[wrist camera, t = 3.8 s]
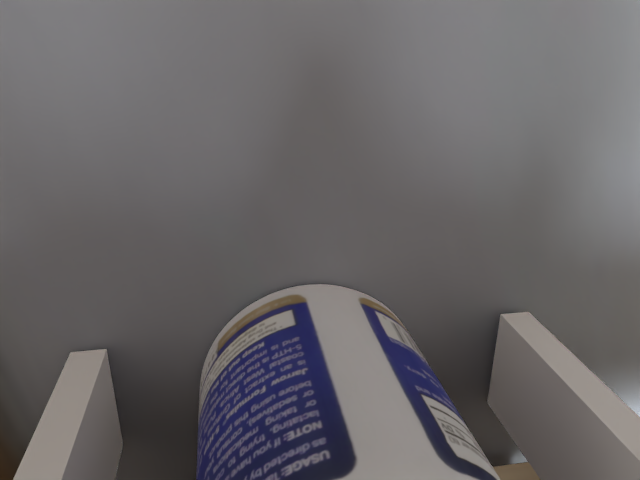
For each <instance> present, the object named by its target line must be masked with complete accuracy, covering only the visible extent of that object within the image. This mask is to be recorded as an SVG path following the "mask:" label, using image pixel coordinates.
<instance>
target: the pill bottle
mask: <svg viewBox="0 0 640 480" xmlns="http://www.w3.org/2000/svg"><path fill="white" fill-rule="evenodd" d="M196 480H500V478H499V477H498V475H497V473H496V472H495V470H494V468H493V467H492V465H491V464H490V462H489V461H488V459H487V458H486V456H485V454H484V453H483V451H482V449H481V448H480V446H479V444H478V443H477V442H476V440H475V438H474V436H473V435H472V433H471V432H470V430H469V429H468V427H467V425H466V424H465V422H464V421H463V419H462V417H461V416H460V414H459V412H458V411H457V409H456V408H455V406H454V404H453V403H452V401H451V399H450V398H449V396H448V395H447V393H446V392H445V390H444V388H443V387H442V385H441V383H440V382H439V380H438V378H437V377H436V375H435V374H434V372H433V370H432V369H431V367H430V366H429V364H428V363H427V361H426V359H425V358H424V356H423V354H422V353H421V351H420V349H419V348H418V346H417V345H416V343H415V342H414V340H413V338H412V337H411V335H410V334H409V332H408V331H407V329H406V328H405V327H404V325H403V324H402V322H401V321H400V320H399V318H398V317H397V316H396V315H395V314H394V313H393V312H392V311H391V310H390V309H389V308H388V307H386V306H385V305H384V304H383V303H381V302H379V301H378V300H376V299H375V298H373V297H371V296H369V295H367V294H364V293H362V292H359V291H356V290H354V289H350V288H346V287H342V286H336V285H329V284H310V285H301V286H295V287H290V288H286V289H283V290H280V291H277V292H274V293H272V294H269V295H267V296H265V297H263V298H261V299H259V300H257V301H255V302H254V303H252V304H250V305H249V306H247V307H246V308H245V309H243V310H242V311H240V312H239V313H238V314H237V315H236V316H235V317H234V318H233V319H231V320H230V321H229V322H228V323H227V325H226V326H225V327H224V328H223V329H222V331H221V332H220V333H219V334H218V336H217V337H216V339H215V340H214V342H213V344H212V346H211V348H210V350H209V352H208V354H207V357H206V359H205V362H204V366H203V369H202V374H201V381H200V392H199V415H198V447H197V474H196Z"/></svg>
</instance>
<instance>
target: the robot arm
mask: <svg viewBox="0 0 640 480" xmlns="http://www.w3.org/2000/svg"><path fill="white" fill-rule="evenodd" d="M487 403H488V405H489V406H490V407H491V409H492V410H493V412H494V413H495V415H496V416H497V418H498V419H499V420H500V422H501V423H502V425H503V426H504V428H505V429H506V430H507V432H508V433H509V435H510V436H511V438H512V439H513V441H514V442H515V443H516V445H517V446H518V448H519V449H520V451H521V452H522V454H523V455H524V456H525V458H526V459H527V461H528V462H529V464H530V465H531V466H532V468H533V469H534V471H535V472H536V474H537V475H538V477H539V478H540V479H541V480H640V417H639V416H638V415H637V414H636V413H635V412H634V411H633V410H632V409H630V408H629V407H628V406H627V405H626V404H625V403H624V402H623V401H622V400H621V399H620V398H619V397H618V396H617V395H616V394H615V393H614V392H613V391H612V390H610V389H609V388H608V387H607V386H606V385H605V384H604V383H603V382H602V381H601V380H600V379H599V378H598V377H597V376H596V375H595V374H594V373H593V372H592V371H591V370H589V369H588V368H587V367H586V366H585V365H584V364H583V363H582V362H581V361H580V360H579V359H578V358H577V357H576V356H575V355H574V354H573V353H572V352H571V351H569V350H568V349H567V348H566V347H565V346H564V345H563V344H562V343H561V342H560V341H559V340H558V339H557V338H556V337H555V336H554V335H553V334H552V333H551V332H549V331H548V330H547V329H546V328H545V327H544V326H543V325H542V324H541V323H540V322H539V321H538V320H537V319H536V318H535V317H534V316H533V315H532V314H531V313H529V312H519V313H507V314H500V320H499V327H498V334H497V341H496V347H495V354H494V361H493V368H492V374H491V381H490V388H489V395H488V401H487ZM122 448H123V440H122V435H121V429H120V423H119V417H118V412H117V406H116V400H115V394H114V388H113V383H112V377H111V371H110V365H109V360H108V354H107V349H100V350H89V351H78V352H70V354H69V357H68V359H67V361H66V363H65V366H64V368H63V370H62V372H61V374H60V377H59V379H58V381H57V383H56V386H55V388H54V390H53V392H52V394H51V397H50V399H49V401H48V403H47V405H46V408H45V410H44V412H43V414H42V417H41V419H40V421H39V423H38V425H37V428H36V430H35V432H34V434H33V437H32V439H31V441H30V443H29V445H28V448H27V450H26V452H25V454H24V456H23V459H22V461H21V463H20V465H19V468H18V470H17V472H16V474H15V476H14V479H13V480H115V479H116V474H117V470H118V466H119V461H120V457H121V453H122Z"/></svg>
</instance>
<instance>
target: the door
mask: <svg viewBox="0 0 640 480" xmlns="http://www.w3.org/2000/svg"><path fill="white" fill-rule="evenodd" d="M493 468H494V470H495V472H496V473H497V475H498V477H499V478H500V480H541V479H540V478H539V477H538V475H537V474H536V472H535V471H534V469H533V468H532V466H531V465H530V464H529V462H524V463H517V464H510V465H503V466H495V467H493Z"/></svg>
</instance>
